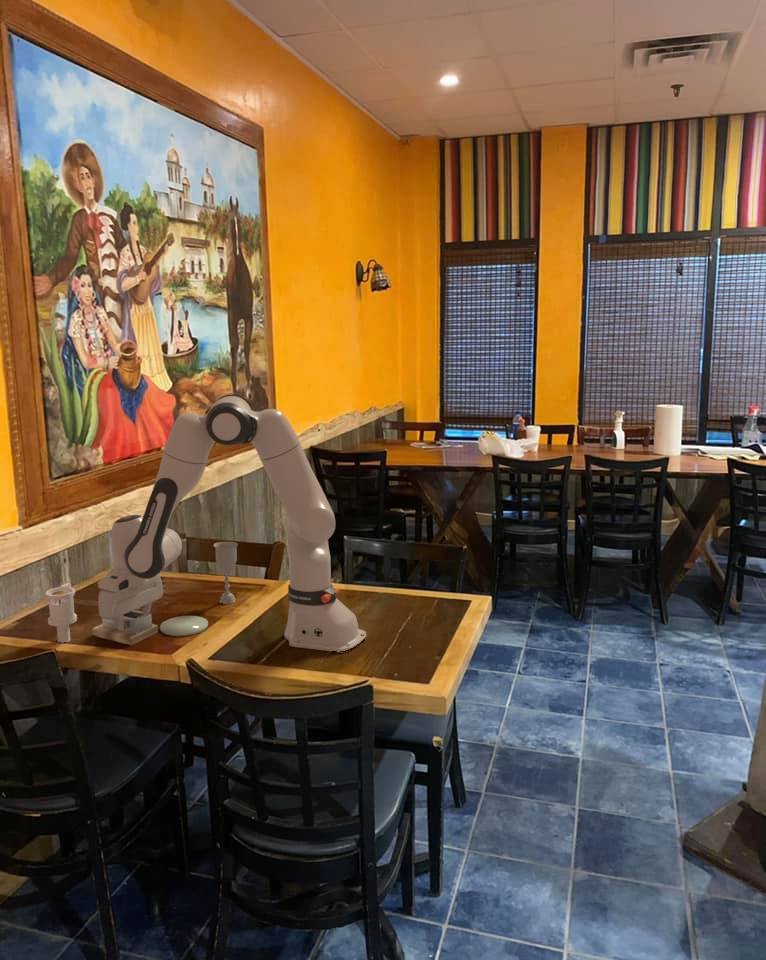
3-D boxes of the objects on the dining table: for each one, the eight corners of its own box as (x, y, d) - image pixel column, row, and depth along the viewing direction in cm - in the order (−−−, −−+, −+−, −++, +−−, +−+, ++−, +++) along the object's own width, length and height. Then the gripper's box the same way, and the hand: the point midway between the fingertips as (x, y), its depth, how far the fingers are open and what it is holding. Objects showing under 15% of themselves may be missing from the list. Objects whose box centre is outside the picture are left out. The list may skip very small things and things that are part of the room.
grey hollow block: (152, 627, 206) (151, 613, 206) (135, 635, 201) (135, 621, 200) (119, 619, 212) (118, 606, 211) (102, 627, 206) (101, 613, 206)
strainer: (84, 637, 205) (80, 584, 202) (66, 647, 198) (62, 592, 195) (62, 634, 207) (57, 581, 204) (43, 644, 200) (39, 590, 197)
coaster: (217, 623, 215) (217, 620, 215) (186, 639, 204) (186, 636, 203) (181, 615, 221) (181, 612, 220) (149, 630, 209) (149, 628, 209)
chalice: (242, 597, 235) (240, 542, 232) (236, 605, 229) (234, 548, 225) (219, 596, 236) (217, 541, 232) (212, 604, 229) (210, 547, 226)
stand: (158, 631, 209) (156, 593, 206) (131, 645, 200) (128, 604, 198) (120, 622, 215) (117, 585, 212) (92, 635, 206) (89, 596, 204)
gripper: (149, 562, 213) (152, 609, 215) (92, 584, 195) (96, 634, 198) (167, 566, 210) (169, 613, 213) (111, 588, 192) (114, 639, 195)
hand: (133, 624), depth 205 cm, fingers open, 7 cm apart
